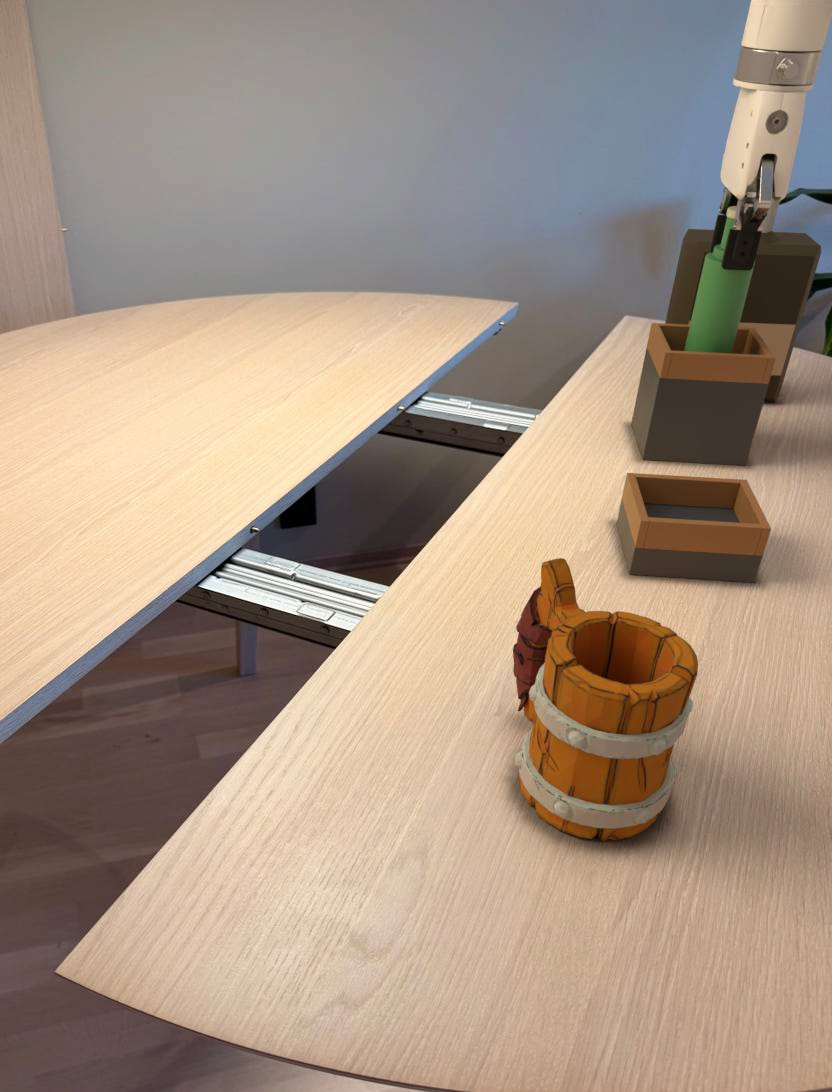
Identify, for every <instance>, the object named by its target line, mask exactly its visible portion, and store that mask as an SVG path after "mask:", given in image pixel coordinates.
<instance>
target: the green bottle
mask: <svg viewBox="0 0 832 1092" xmlns="http://www.w3.org/2000/svg"><path fill="white" fill-rule="evenodd" d="M736 209H737V206H731V207H729V208H728V209H727V214H726V216H727V220H726V224H725V229H724V233H723V237H722V242H721V244H719V245H716V246H715V247H714V251H713V252H712V253H708V254H707V255H706V256H705V261H704V265H703V269H702V274H701V278H700V283H699V287H698V292H697V296H696V300H695V305H694V309H693V314H692V318H691V323H690V327H689V331H688V336H687V340H686V345H685V349H684V351H692V352H712V353H731V354H732V350H733V347H734V343H735V339H736V335H737V331H738V327H739V323H740V319H741V315H742V311H743V307H744V303H745V300H746V296H747V292H748V288H749V284H750V280H751V276H752V272H753V268H754V265H753V268H752V269H751V270H749V271H746V270H725V269H723V268H722V266H721V264H722V259H723V255H724V251H725V247H726V242H727V238H728V234H729V230H730V229H734V221H735V215H736ZM747 209H748V207H745V210H744V214H745V212H746V210H747ZM754 264H755V261H754Z"/></svg>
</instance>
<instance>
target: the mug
mask: <svg viewBox="0 0 832 1092" xmlns="http://www.w3.org/2000/svg"><path fill="white" fill-rule="evenodd" d="M540 580H541V581H540V586H539V587H537V588H536V589H535V590H534V591H533V592H532V594H531V595H530V597H529V599H528V600H527V602H526V604H525V606H524V608H523V610H522V612H521V614H520V618H519V620H518V622H517V624H516V626H515V628H516V632H517V633H518V636H517V638H516V643H515V644H513V648H512V658H513V668H512V669H513V670H512V672H513V676H514V677H515V684H516V692H517V698H518V700H520V702H519V705H518V708H517V712H521V711H522V710H523V714H524V716H525V717H526V719H527V720H528V721H529V722H531V723H532V726H531V727H530V728H529V729H528V731H527V732H526V735H525V736H524V739H523V741H522V743H521V747H520V751H518V752H516V753H515V757H514V766H516V768H518V773H519V774H518V783H519V787H520V793H521V794H522V796H523V797H524V799H525V801H526V802H527V804H529V805H530V806H531V807H534V809H535V812H536V815H537V816H538V817H539V818H540V819H542V820H543V822H545V823H546V824H548V825H549V826H551V827H553V828H554V829H556V830H557V831H559V832H562V833H564V834H567V835H570V836H573V837H576V838H579V839H586V840H593V839H594V838H595V837H596V836H597V837H598V840H599V841H604V842H606V841H608V840H609V839H610V840H612V841H621V840H625V839H630V838H632V837H634V836H636V835H638V834H639V833H642V832H644V831H646V830H647V829H648V828H649V827H650V826H652V824H654V823H655V822H656V821H657V820H658V817H659V816H661V812H662V810H663V809H664V807H665V806H666V804H667V803H668V800H669V798H670V796H671V793H672V792H671V791H672V787H673V782H674V780H675V779H676V777H677V772H678V770H677V766H676V765H675V764H674V762H673V758H672V757H671V756H672V753H673V750H674V747H675V743H676V742H677V741H678V740H679V739H680V738H681V737H682V736H683V735H684V731H685V728H686V725H687V722H688V719H689V716H690V713H691V712H692V711H693V706H694V701H693V700H692V699H691V698H690V697H691V693H692V691H693V688H694V685H695V683H696V679H697V677H698V673H699V661H698V656H697V653H696V652H695V649H694V648H693V647H692V645H691V644H690V643H689V642H687V640H686V639H684V638H682V637H681V636H680V635H678V634H677V633H676V632H675V631H674V630H673V629H671V628H670V627H667V626H663V625H662V624H661V622H658V621H656V620H653V619H652V618H649V617H646V616H643V615H639V614H636V613H632V612H628V611H618V610H617V611H615V612H613V613H612V612H611V611H608V610H607V611H606V610H605V611H604V610H588V611H585V610H584V609H582V608H580V606H579V604H578V602H577V596H576V588H575V584H574V579H573V576H572V572H571V569H570V566H569V564H568V562H567V560H566V558H563V557H559V558H553V559H549V560H546V561H543V562H542V563H541V567H540Z"/></svg>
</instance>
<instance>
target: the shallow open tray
mask: <svg viewBox="0 0 832 1092" xmlns="http://www.w3.org/2000/svg"><path fill="white" fill-rule="evenodd" d="M616 528H617V532H618V535H619V539H620V544H621V547H622V552H623V555H624V559H625V563H626V567H627V571H628V575H632V576H633V575H634V576H647V577H648V576H650V577H666V578H678V579H679V578H680V579H695V580H710V581H725V582H726V581H727V582H738V583H739V582H741V583H756V579H757V576H758V573H759V569H760V567H761V563H762V561H763V557H764V553H765V550H766V547H767V544H768V541H769V539H770V535H771V532H772V527H771V525H770V523H769V522H768V519H767V517H766V516H765V514H764V511H763V509H762V507H761V505H760V504H759V501H758V500H757V497H756V496H755V494H754V491H753V490H752V487H751V485H750V483H749V481H748V480H747V479H738V478H725V477H724V478H722V477H721V478H720V477H708V476H707V477H704V476H688V475H671V474H653V473H640V472H639V473H634V472H626V475H625V480H624V486H623V491H622V495H621V499H620V505H619V509H618V515H617V519H616Z"/></svg>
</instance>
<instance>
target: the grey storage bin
mask: <svg viewBox="0 0 832 1092" xmlns="http://www.w3.org/2000/svg"><path fill="white" fill-rule="evenodd" d="M689 327H690V325H686V324H666V323H665V322H664V323H663V322H651V323H650V329H649V334H648V339H647V343H646V348H645V353H644V358H643V363H642V368H641V374H640V378H639V383H638V388H637V393H636V399H635V402H634V403H635V404H634V407H633V412H632V413H633V414H632V418H631V421H630V424H631V425H630V426H631V429H632V432H633V435H634V438H635V441H636V444H637V447H638V450H639V454H640V457H641V460H643V461H657V462H658V461H659V462H675V463H678V462H679V463H695V464H713V465H728V466H730V465H731V466H746V465H747V462H748V458H749V455H750V451H751V448H752V445H753V441H754V437H755V434H756V431H757V427H758V424H759V420H760V418H761V417H760V416H761V412H762V410H763V406H764V402H765V401H764V399H765V395H766V392H767V388H768V385H769V381H770V377H771V374H772V370H773V367H774V363H775V360H776V358H775V356H774V355H773V353H772V352H771V351H770V349H769V348H768V346H767V345H766V344H765V342H764V341H763V339H762V338H761V337H760V335H759V334H758V332H757V331H756V330H755V328H747V327H738V331H737V335H736V339H735V343H734V347H733V350H732V354H731V353H712V352H692V351H684V349H685V345H686V340H687V336H688V331H689Z"/></svg>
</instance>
